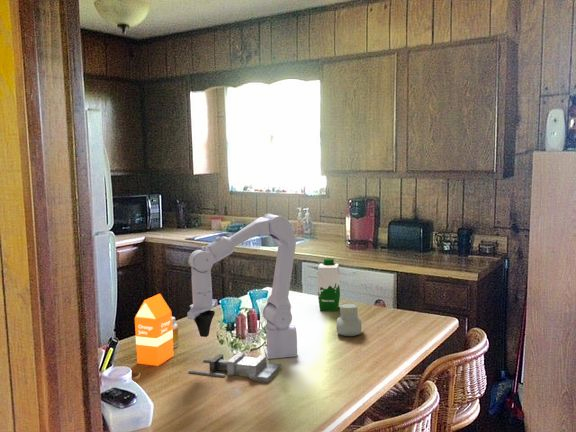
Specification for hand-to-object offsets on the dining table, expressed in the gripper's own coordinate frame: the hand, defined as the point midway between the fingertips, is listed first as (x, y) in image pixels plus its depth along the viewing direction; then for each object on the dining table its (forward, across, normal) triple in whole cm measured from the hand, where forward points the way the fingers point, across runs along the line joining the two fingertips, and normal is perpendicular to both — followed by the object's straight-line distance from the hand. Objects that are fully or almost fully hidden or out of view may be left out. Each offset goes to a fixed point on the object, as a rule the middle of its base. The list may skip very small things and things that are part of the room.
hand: (204, 336), depth 159 cm
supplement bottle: (+10, -13, -21) cm, 26 cm away
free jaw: (+10, 0, +7) cm, 12 cm away
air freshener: (+10, -41, +34) cm, 54 cm away
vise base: (+10, 0, +9) cm, 14 cm away
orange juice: (+10, -2, -19) cm, 21 cm away
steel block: (+10, 0, +13) cm, 17 cm away
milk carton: (+10, -69, +19) cm, 72 cm away
